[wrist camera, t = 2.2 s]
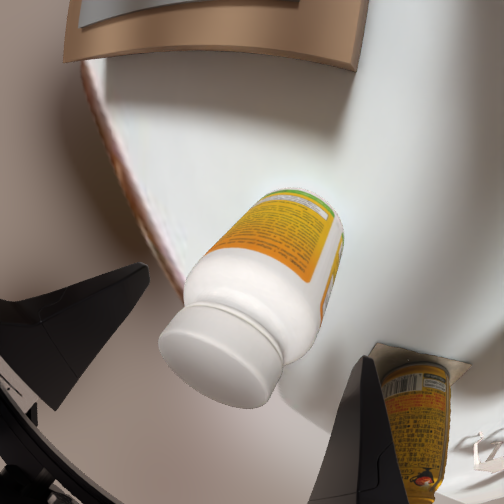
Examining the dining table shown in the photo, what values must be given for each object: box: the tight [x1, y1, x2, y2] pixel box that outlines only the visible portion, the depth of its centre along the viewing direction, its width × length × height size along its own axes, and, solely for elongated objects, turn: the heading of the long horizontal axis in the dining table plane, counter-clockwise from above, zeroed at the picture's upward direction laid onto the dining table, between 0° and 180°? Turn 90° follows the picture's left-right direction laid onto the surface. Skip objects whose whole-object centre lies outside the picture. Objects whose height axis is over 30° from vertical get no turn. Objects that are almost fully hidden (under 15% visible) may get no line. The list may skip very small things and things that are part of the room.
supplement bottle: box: [158, 187, 344, 409], centre depth 12 cm, size 5×5×10 cm
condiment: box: [368, 343, 472, 504], centre depth 13 cm, size 7×8×12 cm
